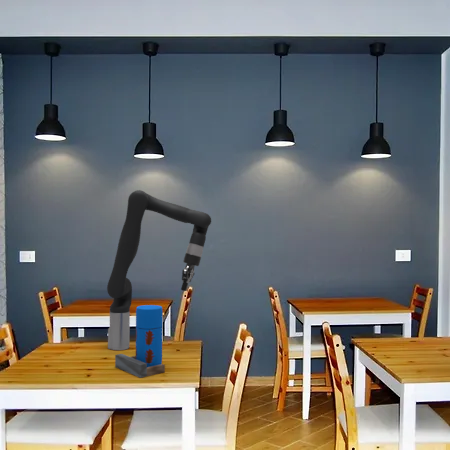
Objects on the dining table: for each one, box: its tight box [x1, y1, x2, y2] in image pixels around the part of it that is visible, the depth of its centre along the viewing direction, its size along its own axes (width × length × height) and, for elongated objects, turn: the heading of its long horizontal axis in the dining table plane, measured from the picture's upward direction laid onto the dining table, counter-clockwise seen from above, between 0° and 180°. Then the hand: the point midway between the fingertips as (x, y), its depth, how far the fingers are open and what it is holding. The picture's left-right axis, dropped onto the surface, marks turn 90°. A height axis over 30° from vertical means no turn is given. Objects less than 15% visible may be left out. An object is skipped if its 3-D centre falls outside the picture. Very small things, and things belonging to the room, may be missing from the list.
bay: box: [114, 353, 166, 379], centre depth 218 cm, size 12×19×5 cm, turn 41°
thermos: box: [135, 304, 164, 367], centre depth 221 cm, size 11×11×25 cm
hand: (183, 290), depth 247 cm, fingers closed
